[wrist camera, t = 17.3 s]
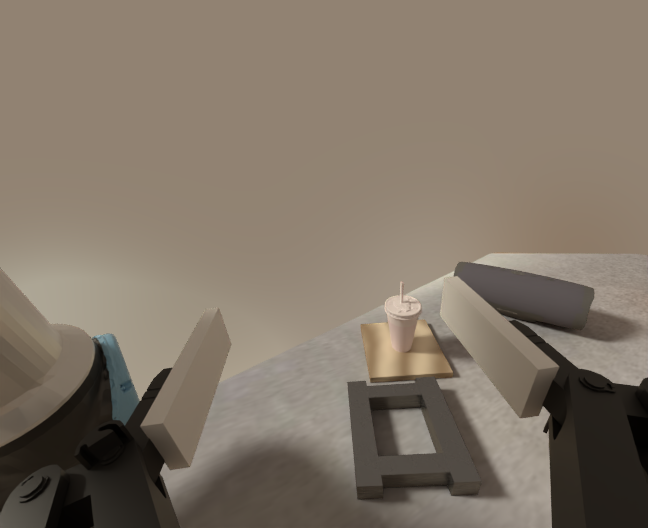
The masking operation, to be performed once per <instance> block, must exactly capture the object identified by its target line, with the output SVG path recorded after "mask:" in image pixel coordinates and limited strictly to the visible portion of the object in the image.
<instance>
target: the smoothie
mask: <svg viewBox="0 0 648 528" xmlns="http://www.w3.org/2000/svg"><path fill="white" fill-rule="evenodd" d="M403 290H404V282H402V281H401V282H400V295H396V296H393V297H390V298H388V299H387V300H386V302H385V311H386V313H387V317H388V324H389V330H390V337H391V344H392V347H393V349H394V350H396V351H398V352H408V351H409V350H410V349H411V346H412V342H413V338H414V334H415V329H416V325H417V321H418V317H419V315H420V314H421V312H422V310H421V307H422V306H421V303H420V302H419V301H418V300H417V299H415V298H413V297H410V296H406V295H403Z"/></svg>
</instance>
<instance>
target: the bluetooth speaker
mask: <svg viewBox="0 0 648 528" xmlns="http://www.w3.org/2000/svg"><path fill="white" fill-rule="evenodd" d="M455 276H458V277H459V278H460V279H461V280H462V281H463V282H465V283H466V284H467V285H468V286H469V287H470V288H471V289H472V290H474V291H475V292H476V293H477V294H478V295H479V296H480V297H481V298H483V299H484V300H485V301H486V302H487V303H488V304H489V305H491V306H492V307H493V308H494V309H495V310H496V311H497V312H498V313H500V314H503V315H506V316H510V317H513V318H517V319H520V320H524V321H529V322H536V321H540V322H545V323H549V324H554V325H558V326H562V327H566V328H572V329H577V330H582V328H583V327H584V325H585V324H586V321H587V315H588V312H589V309H590V306H591V303H592V301H593V299H594V289H593V288H590V287H587V286H584V285H580V284H576V283H572V282H568V281H563V280H559V279H555V278H550V277H546V276H541V275H536V274H532V273H527V272H522V271H517V270H511V269H506V268H500V267H494V266H488V265H482V264H476V263H468V262H459V263H458V264H457V267H456V268H455V273H454V277H455Z"/></svg>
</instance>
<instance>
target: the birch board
mask: <svg viewBox="0 0 648 528" xmlns="http://www.w3.org/2000/svg"><path fill="white" fill-rule="evenodd" d="M361 332H362V338H363V343H364V349H365V355H366V360H367V366H368V371H369V377H370V382H371V383H372V382H387V381H403V380H416V378H418V377H434V376H435V378H449V377H452V376H453V371H452V369H451V367H450V365H449V364H448V362H447V360H446V358H445V356H444V354H443V352H442V351H441V349H440V347H439V345H438V343H437V341H436V339H435V337H434V336H433V334H432V332H431V330H430V328H429V326H428V324H427V323H426V321H425V320H418V321H417V325H416V329H415V334H414V338H413V342H412V346H411V349H410V350H409V351H408V352H398V351H396V350H394V349H393V347H392V344H391V337H390V330H389V324H388V322H386V323H373V324H361Z"/></svg>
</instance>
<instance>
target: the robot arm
mask: <svg viewBox="0 0 648 528" xmlns="http://www.w3.org/2000/svg"><path fill="white" fill-rule="evenodd" d="M440 316H441V318H442V319H443V320H444V322H445V323H446V324H447V325H448V327H449V328H450V329H451V331H452V332H453V333H454V334H455V336H456V337H457V338H458V340H459V341H460V342H461V343H462V345H463V346H464V347H465V348H466V350H467V351H468V352H469V354H470V355H471V356H472V357H473V359H474V360H475V361H476V363H477V364H478V365H479V366H480V368H481V369H482V370H483V372H484V373H485V374H486V375H487V377H488V378H489V379H490V381H491V382H492V383H493V384H494V386H495V387H496V388H497V389H498V391H499V392H500V393H501V395H502V396H503V397H504V398H505V400H506V401H507V402H508V404H509V405H510V406H511V407H512V409H513V410H514V411H515V413H516V414H517V415H518V416H519V418H526V417H533V416H539V414H540V411H541V409H542V407H543V406H544V407H545V408H546V409H547V411H548V412H549V413H550V416H549V419H548V421H547V423H546V425H545V427H544V430H543V432H545V433H547V432H548V429H549V450H550V479H551V508H552V528H648V378H645V379H643V381H642V382H641V384H640V385H639V386H631V385H623V384H615V383H612V382H611V381H610V380H609V379H607V378H605V377H603V376H602V375H600V374H597V373H595V372H592V371H589V370H584V369H578V368H577V367H576V366H574V365H573V364H572V363H571V362H570V361H568V360H567V359H566V358H565V357H564V356H562V355H561V354H560V353H559V352H558V351H556V350H555V349H554V348H553V347H552V346H550V345H549V344H548V343H546V342H545V341H544V340H543V339H542V338H541V337H540V336H538V335H537V334H536V333H535V332H534V331H532V330H531V329H530V328H529V327H528V326H526V325H524V324H522V323H520V322H518V321H516V320H512V321H507V320H506V319H505V318H504V317H503V316H502V315H501V314H500V313H498V312H497V311H496V310H495V309H494V308H493V307H492V306H491V305H489V304H488V303H487V302H486V301H485V300H484V299H483V298H481V297H480V296H479V295H478V294H477V293H476V292H475V291H474V290H472V289H471V288H470V287H469V286H468V285H467V284H466V283H465V282H463V281H462V280H461V279H460V278H459V277H458V276H455V277H447V278H444V287H443V295H442V303H441V311H440ZM230 347H231V342H230V339H229V336H228V333H227V330H226V327H225V324H224V321H223V318H222V315H221V313H220V310H219V308H212V309H206V310H205V311H204V313H203V315H202V316H201V318H200V320H199V322H198V323H197V325H196V327H195V329H194V331H193V332H192V334H191V336H190V338H189V340H188V341H187V343H186V345H185V347H184V349H183V350H182V352H181V354H180V356H179V358H178V359H177V361H176V363H175V365H174V367H173V368H167V369H163V370H162V371H161V372H160V373H159V374H158V375H157V376H156V377H155V378H154V379H153V381H152V382H151V384H150V385H149V387H148V389H147V392H145V394H144V395H143V397H142V400H141V401H139V398H138V395H137V393H136V390H135V388H134V385H133V382H132V380H131V377H130V374H129V372H128V369H127V366H126V363H125V361H124V358H123V356H122V353H121V350H120V348H119V345H118V342H117V340H116V337H115V336H114V335H113V334H104V335H97V336H94V337H93V338H92V339H91V337H90V336H89V335H88V334H87V333H86V332H85V331H84V330H82V329H80V328H78V327H74V326H71V325H65V324H50V323H49V322H48V321H47V320H46V318H45V317H44V316H43V315H42V314H41V313H40V312H39V311H38V310H37V308H36V307H35V306H34V305H33V304H32V303H31V302H30V301H29V299H28V298H27V297H26V296H25V295H24V294H23V293H22V292H21V290H19V288H18V287H17V286H16V285H15V284H14V283H13V282H12V281H11V279H10V278H9V277H8V276H7V275H6V274H5V273H4V272H3V270H2V269H1V268H0V528H180V526H179V523H178V520H177V517H176V514H175V512H174V509H173V506H172V503H171V500H170V497H169V495H168V492H167V489H166V486H165V483H164V480H163V478H162V476H161V475H160V471H161V469H162V467H163V464H164V462H165V463H166V465H167V466H168V468H169V469H170V470H173V469H180V468H187V467H190V466H191V463H192V460H193V457H194V454H195V451H196V448H197V445H198V442H199V439H200V436H201V433H202V430H203V427H204V424H205V421H206V418H207V415H208V412H209V409H210V406H211V403H212V400H213V397H214V395H215V392H216V389H217V386H218V383H219V380H220V377H221V374H222V371H223V368H224V365H225V362H226V358H227V356H228V353H229V350H230Z"/></svg>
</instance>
